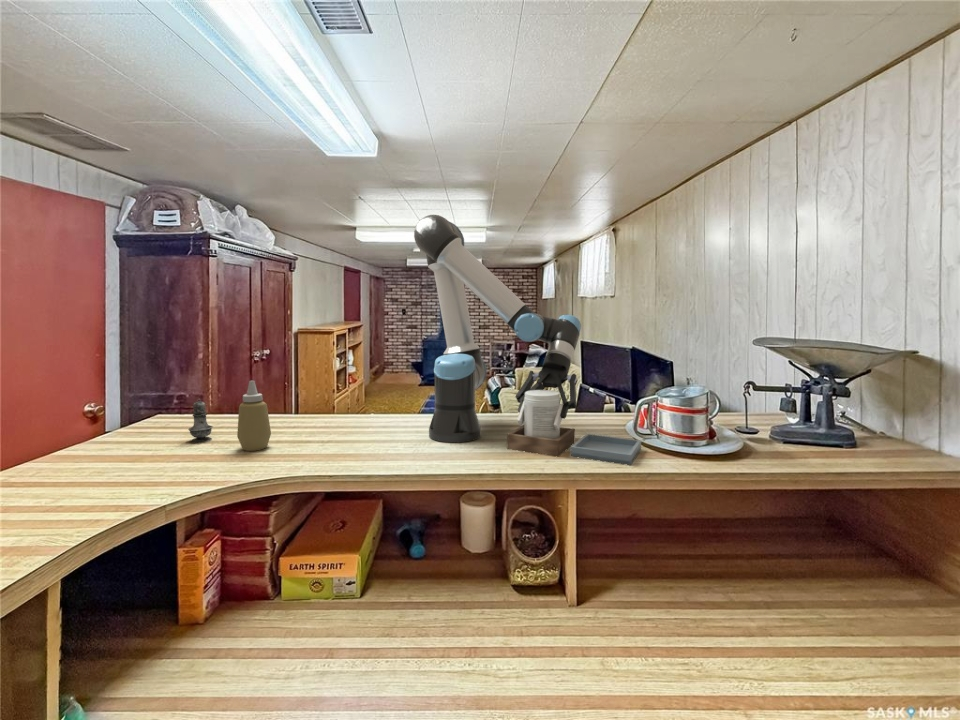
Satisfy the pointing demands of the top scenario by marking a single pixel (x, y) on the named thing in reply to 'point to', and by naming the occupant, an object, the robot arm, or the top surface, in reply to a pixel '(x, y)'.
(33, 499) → the top surface
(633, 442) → the tray
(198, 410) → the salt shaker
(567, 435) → the tray
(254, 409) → the squeeze bottle
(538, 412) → the supplement tub
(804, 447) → the top surface
